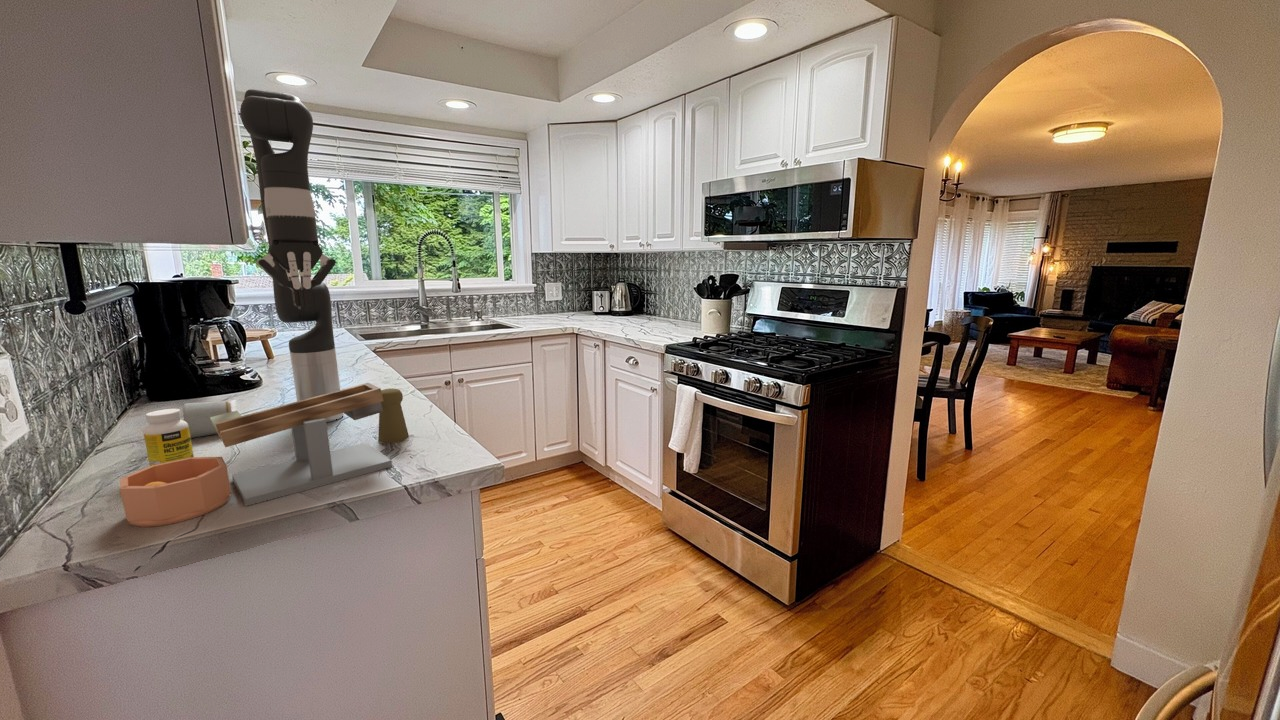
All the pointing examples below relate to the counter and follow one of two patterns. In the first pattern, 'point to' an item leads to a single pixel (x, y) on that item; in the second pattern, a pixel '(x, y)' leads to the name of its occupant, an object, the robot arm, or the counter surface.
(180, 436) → the pill bottle
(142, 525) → the orange octagonal bowl
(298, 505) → the counter surface
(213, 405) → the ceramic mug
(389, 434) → the olive green pawn
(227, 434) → the chute
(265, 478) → the chute stand
